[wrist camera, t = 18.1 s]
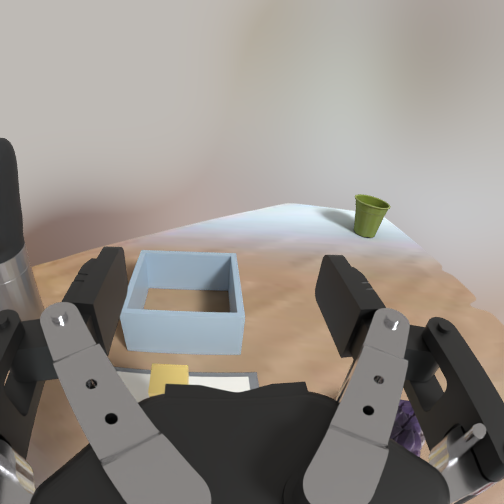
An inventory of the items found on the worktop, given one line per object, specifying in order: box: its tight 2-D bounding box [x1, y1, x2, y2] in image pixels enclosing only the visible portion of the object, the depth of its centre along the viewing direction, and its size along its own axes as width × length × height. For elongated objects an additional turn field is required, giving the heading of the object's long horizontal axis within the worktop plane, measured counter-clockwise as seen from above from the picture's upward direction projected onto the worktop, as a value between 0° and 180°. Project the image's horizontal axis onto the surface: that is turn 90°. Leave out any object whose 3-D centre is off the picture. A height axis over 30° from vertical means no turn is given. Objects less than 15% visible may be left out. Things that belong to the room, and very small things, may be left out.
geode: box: [390, 400, 425, 457], centre depth 28 cm, size 20×12×10 cm, turn 120°
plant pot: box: [354, 194, 390, 238], centre depth 92 cm, size 12×12×11 cm
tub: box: [120, 250, 245, 355], centre depth 51 cm, size 18×18×8 cm
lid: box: [116, 364, 250, 403], centre depth 29 cm, size 19×19×13 cm
